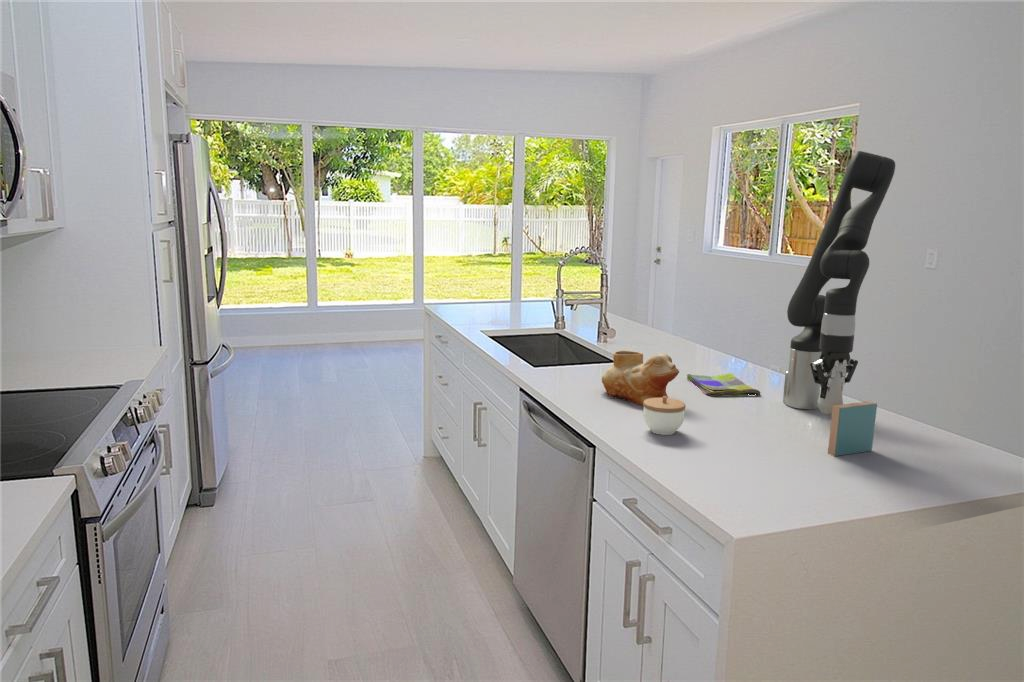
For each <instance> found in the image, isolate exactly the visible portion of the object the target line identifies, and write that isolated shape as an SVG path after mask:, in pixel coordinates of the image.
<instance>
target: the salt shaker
mask: <svg viewBox="0 0 1024 682" xmlns="http://www.w3.org/2000/svg"><path fill="white" fill-rule="evenodd" d="M843 369H844V366H843V364H842V363H841V362H839V364H838V366H837V367H835V369H834V370H835V372H836V373H835V377H834V378H833V379H832V383H831V386H830V389H829V392H828V388H827V393H826V397H825V399H823V398H820V395H819V399H818V408H819V412H821V413H822V414H826V415H832V408H833V405H842V404H844V400H843V389H842V385H841V372H842V371H843ZM826 373H827V374H830V373H828V372H826ZM825 381H827V377H826V378H825ZM823 396H824V395H823Z"/></svg>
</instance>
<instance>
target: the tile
mask: <svg viewBox="0 0 1024 682" xmlns="http://www.w3.org/2000/svg"><path fill="white" fill-rule="evenodd" d="M877 408H878V404H877V402H874V401H872V400H870V401H869V400H868V401H859V402H852V403H843V404H842V405H833V408H832V414H831V418H830V419H831V420H830V429H829V437H828V438H829V439H828V450H827V454H828V455H830V454H831V455H830V456H832V455H833V457H838V456H839V455H840V456H844V455H845V454H846V455H852V454H858V452H859V453H863V452H870V451H873V443H874V436H875V435H874V434H875V428H876V427H875V426H876V419H877ZM851 453H852V454H851ZM846 455H845V456H846Z"/></svg>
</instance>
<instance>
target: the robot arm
mask: <svg viewBox="0 0 1024 682" xmlns="http://www.w3.org/2000/svg"><path fill="white" fill-rule="evenodd" d="M895 170H896V161H895V160H894V159H892V158H890V157H886V156H884V155H883V156H882V155H879V154H874V153H870V152H867V151H861V150H857V151H856V152H854V153H853V155H852V156H851V157H850V159H849V161H848V163H847V166H846V168H845V172H844V174H843V177H842V180H841V182H840V185H839V189H838V191H837V194H836V197H835V199H834V202H833V205H832V208H831V211H830V213H829V214H828V217H827V220H826V222H825V225H824V226H823V229H822V231H821V233H820V235H819V238H818V240H817V243H816V244H815V248H814V250H813V253H812V255H811V258H810V260H809V263H808V264H807V267H806V268H805V269H806V270H805V272H804V274H803V276H802V277H801V280H800V281H799V283H798V285H797V287H796V289H795V291H794V292H793V295H792V296H791V298H790V300H789V303H788V306H787V312H786V314H787V320H788V322H789V323H790V324H791V325H792V326H794V327H799V328H803V327H804V328H803V330H802V331H801V332H800V333H799V334H798V335H796V336H794V337H792V339H790V346H789V347H790V348H789V358H788V369H787V371H785V374H784V385H783V397H782V403H784V404H785V405H786V406H788V407H791V408H796V409H801V410H815V409H818V408H819V406H818V399H819V396H820V398H823V399H825V397H826V393H827V388H828V392H829V389H830V386H831V383H832V379H833V378H834V377H835V373H836V372H835V370H834V369H835V367H837V366H838V364H839V362H841V363H842V364H843V366H844V369H843V371H842V372H841V385H842V390H844V389H843V387H844V386H845V384H846V383H850V382H851V380H852V378H853V375H854V373H855V370H856V368H857V366H858V363H859V361H858V360H857V359H853V358H851V356H850V355H851V354H850V353H852V352H853V351H854V342H855V331H856V312H857V311H856V310H857V301H858V297H859V293H860V291H861V287H862V284H863V282H864V280H865V276H866V275H867V273H868V270H869V267H870V257H869V255H868V254H867V253H866V252H865V251H864V249H865V248H866V247H867V244H868V241H869V238H870V235H871V230H872V227H873V223H874V221H875V219H876V217H877V214H878V213H879V210H880V208H881V206H882V204H883V202H884V199H885V197H886V195H887V193H888V191H889V188H890V186H891V183H892V180H893V178H894V175H895ZM853 189H857V190H861V191H864V192H869V193H871V194H869V196H868V197H866V198H865V199H863V200H862V201H861V202H859V203H857V204H856V205H854V206H853V207H852V199H851V198H852V197H851V196H852V192H853ZM832 279H834V280H835V279H836V280H849V282H848V284H847V285H846V286H844V287H837V288H835V287H834V288H830V289H828V290H826V292H825V295H823V294H820V293H821V291H822V289H823V288H824V286H825V285H826V284H827V283H828V282H829V281H830V280H832ZM827 372H828V373H830V374H827ZM826 377H827V381H825V378H826ZM823 395H824V396H823Z"/></svg>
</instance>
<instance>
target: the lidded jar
mask: <svg viewBox="0 0 1024 682" xmlns="http://www.w3.org/2000/svg"><path fill="white" fill-rule="evenodd" d="M642 407H643V419H644V422H645V424H646V426H647V427H648V428H649V430H650V432H651V433H653V434H655V433H656V435H660V434H661V435H662V436H670V435H674V434H675V432H676V431H678V430H679V429H680V428H681V426H682V425H683V422H684V419H685V418H684V417H685V415H686V414H685V412H686V403H685V402H684V401H682V400H679V399H675V398H670V397H668V398H667V397H666V396H663V398H649V399H646V400H644V402H643V406H642Z"/></svg>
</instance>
